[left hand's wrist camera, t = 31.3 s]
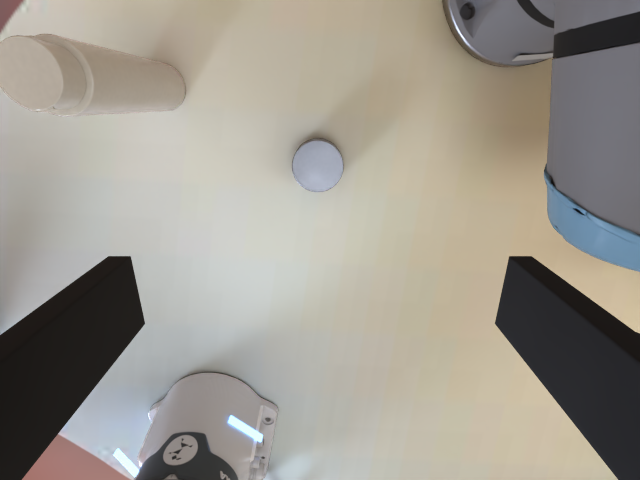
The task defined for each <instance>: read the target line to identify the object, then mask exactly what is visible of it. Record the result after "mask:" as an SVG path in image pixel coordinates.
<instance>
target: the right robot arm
mask: <svg viewBox="0 0 640 480" xmlns="http://www.w3.org/2000/svg"><path fill="white" fill-rule="evenodd" d="M277 414H278V408H277V406H276V405H274V404H273V403H271V402H269V401H267V400H265V399H262V398H261V397H259V396H258V395H257V394H256V393H255V392H254V391H253V390H252V389H251V388H250V387H249V386H248V385H246V384H245V383H243V382H242V381H240V380H238V379H236V378H234V377H231V376H228V375H224V374H219V373H198V374H193V375H190V376H187V377H185V378H183V379H181V380H179V381H178V382H177V383H175V384H174V385H173V386H172V387H171V389H170V390H169V392H168V393H167V395H166V396H165V398H164V399H162V400H161V401H159V402H157V403H156V404H154V405H153V406H152V407H151V409H150V411H149V414H148V416H149V418H150V420H151V422H152V423H151V426H150V428H149V430H148V433H147V435H146V438H145V440H144V442H143V445H142V447H141V449H140V452H139V454H138V458H137V461H138V462H139V465H140V470H138V469H137V467H136V466H135V465H134V464H133V463H132V462H131V461H130V460H129V459H128V458H127V457H126V456H125V455H124V454H123V453H122V452H121V451H120V450H119V449H117V450H116V451H115V453H114V456H115V457H116V458H117V459H118V460H119V461H120V462H121V464H122V465H123V466H124V467H125V468H126V469H127V470H128V471H129V472H130V473H131V474H132V475H133V476H134V477H135V478H134V480H263V478H265V476H266V473H267V469H268V464H269V458H270V453H271V447H272V442H273V436H274V431H275V425H276V420H277Z"/></svg>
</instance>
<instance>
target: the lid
mask: <svg viewBox="0 0 640 480" xmlns="http://www.w3.org/2000/svg"><path fill="white" fill-rule="evenodd" d="M292 170H293V174H294V177H295V179H296V180H297V182H298V183H299V184H300V185H301V186H302V187H303V188H305V189H307V190H309V191H313V192H323V191H326V190H329V189H331V188H332V187H334V186H335V185H336V184H337V183H338V181H339V180H340V178H341V176H342V173H343V159H342V156H341V154H340V152H339V150H338V148H337V147H336V146H335V145H334V144H333V143H331V142H330V141H328V140H325V139H321V138H315V139H310V140H308V141H306V142H304V143H303V144H302V145H301V146H300V147H299V148H298V150H297V151H296V153H295V156H294V158H293V162H292Z"/></svg>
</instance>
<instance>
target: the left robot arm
mask: <svg viewBox="0 0 640 480" xmlns="http://www.w3.org/2000/svg"><path fill="white" fill-rule="evenodd" d="M443 7H444V11H445V16H446V19H447V22H448V24H449V27H450V29H451V31H452V33H453V34H454V36H455V38H456V39H457V41H458V42H459V43H460V45H461V46H462V47H463V48H464V49H465V50H466V51H467V52H468V53H470V54H471V55H472V56H474V57H475V58H477V59H479V60H481V61H482V62H485V63H488V64H491V65H495V66H500V67H517V66H524V65H529V64H534V63H538V62H541V61H544V60H546V59H549V58H552V57H553V58H554V59H552V77H551V100H550V122H549V138H548V154H547V164H546V166H545V170H544V179H545V182H546V184H547V211H548V217H549V220H550V222H551V224H552V226H553V228H554V229H555V230H556V231H557V232H558V233H559V234H561V235H562V236H563V238H564V239H565V240H566V241H567V242H568V243H570V244H571V245H573V246H575V247H576V248H578V249H579V250H581V251H583V252H585V253H587V254H589V255H591V256H593V257H596V258H598V259H600V260H603V261H606V262H609V263H611V264H614V265H617V266H621V267H624V268H627V269H631V270H634V271H639V272H640V0H443ZM582 52H583V53H582ZM577 53H578V54H577ZM144 324H145V321H144V317H143V312H142V307H141V303H140V298H139V293H138V289H137V284H136V279H135V275H134V270H133V265H132V260H131V256H108V257H107V258H106V259H104V260H103V261H102V262H100V263H99V264H97V265H96V266H95V267H93V268H92V269H91V270H89V271H88V272H86V273H85V274H84V275H82V276H81V277H80V278H78V279H77V280H75V281H74V282H73V283H71V284H70V285H69V286H67V287H66V288H64V289H63V290H62V291H60V292H59V293H58V294H56V295H55V296H53V297H52V298H51V299H49V300H48V301H47V302H45V303H44V304H42V305H41V306H40V307H38V308H37V309H36V310H34V311H33V312H32V313H30V314H29V315H27V316H26V317H25V318H23V319H22V320H21V321H19V322H18V323H16V324H15V325H14V326H12V327H11V328H10V329H8V330H7V331H5V332H4V333H3V334H1V335H0V480H22V478H23V477H24V476H25V475H26V473H27V472H28V471H29V470H30V468H31V467H32V466H33V465H34V463H35V462H36V461H37V460H38V458H39V457H40V456H41V454H42V453H43V452H44V451H45V449H46V448H47V447H48V446H49V444H50V443H51V442H52V441H53V439H54V438H55V437H56V436H57V434H58V433H59V432H60V430H61V429H62V428H63V427H64V425H65V424H66V423H67V422H68V420H69V419H70V418H71V417H72V415H73V414H74V413H75V411H76V410H77V409H78V408H79V406H80V405H81V404H82V403H83V401H84V400H85V399H86V398H87V396H88V395H89V394H90V393H91V391H92V390H93V389H94V387H95V386H96V385H97V384H98V382H99V381H100V380H101V379H102V377H103V376H104V375H105V374H106V372H107V371H108V370H109V369H110V367H111V366H112V365H113V363H114V362H115V361H116V360H117V358H118V357H119V356H120V355H121V353H122V352H123V351H124V350H125V348H126V347H127V346H128V344H129V343H130V342H131V341H132V339H133V338H134V337H135V336H136V334H137V333H138V332H139V331H140V329H141V328H142V327H143V326H144ZM495 324H496V326H497V327H498V328H499V329H500V331H501V332H502V333H503V334H504V336H505V337H506V338H507V339H508V341H509V342H510V343H511V344H512V346H513V347H514V348H515V350H516V351H517V352H518V353H519V355H520V356H521V357H522V358H523V360H524V361H525V362H526V363H527V365H528V366H529V367H530V369H531V370H532V371H533V372H534V374H535V375H536V376H537V377H538V379H539V380H540V381H541V382H542V384H543V385H544V386H545V387H546V389H547V390H548V391H549V393H550V394H551V395H552V396H553V398H554V399H555V400H556V401H557V403H558V404H559V405H560V406H561V408H562V409H563V410H564V411H565V413H566V414H567V415H568V417H569V418H570V419H571V420H572V422H573V423H574V424H575V425H576V427H577V428H578V429H579V430H580V432H581V433H582V434H583V436H584V437H585V438H586V439H587V441H588V442H589V443H590V444H591V446H592V447H593V448H594V449H595V451H596V452H597V453H598V454H599V456H600V457H601V458H602V460H603V461H604V462H605V463H606V465H607V466H608V467H609V468H610V470H611V471H612V472H613V473H614V475H615V476H616V477H617V479H618V480H640V334H639V333H637V332H635V331H633V330H632V329H630V328H629V327H628V326H626V325H625V324H624V323H622V322H621V321H619V320H618V319H617V318H615V317H614V316H613V315H611V314H610V313H608V312H607V311H606V310H604V309H603V308H602V307H600V306H599V305H598V304H596V303H595V302H593V301H592V300H591V299H589V298H588V297H587V296H585V295H584V294H582V293H581V292H580V291H578V290H577V289H576V288H574V287H573V286H571V285H570V284H569V283H567V282H566V281H565V280H563V279H562V278H560V277H559V276H558V275H556V274H555V273H554V272H552V271H551V270H549V269H548V268H547V267H545V266H544V265H543V264H541V263H540V262H538V261H537V260H536V259H534V258H533V257H532V256H509V260H508V265H507V270H506V275H505V279H504V284H503V289H502V293H501V298H500V303H499V307H498V312H497V317H496V321H495Z"/></svg>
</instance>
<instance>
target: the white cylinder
mask: <svg viewBox="0 0 640 480" xmlns="http://www.w3.org/2000/svg"><path fill="white" fill-rule="evenodd" d="M0 86H1V88H2V89H3V91H4V92H5V93H6V94H7V95H8V96H9V97H10V98H11V99H12V100H13V101H15V102H16V103H18V104H19V105H20V106H22V107H24V108H27V109H28V110H31V111H36V112H49V113H51V114H54V115H58V116H85V115H103V114H121V113H139V112H156V111H170V110H174V109H176V108H177V107H179V106H180V105H181V103H182V102H183V100H184V97H185V83H184V80H183V78H182V76H181V75H180V73H179V72H178V71H177V70H176V69H175V68H174V67H172V66H171V65H169V64H166V63H163V62H159V61H155V60H151V59H147V58H143V57H139V56H135V55H131V54H127V53H123V52H119V51H115V50H111V49H108V48H104V47H100V46H96V45H92V44H88V43H84V42H80V41H76V40H72V39H68V38H64V37H60V36H56V35H51V34H40V35H36V36H11V37H8V38H6V39H4V40H3V41H2V42H1V43H0Z"/></svg>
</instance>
